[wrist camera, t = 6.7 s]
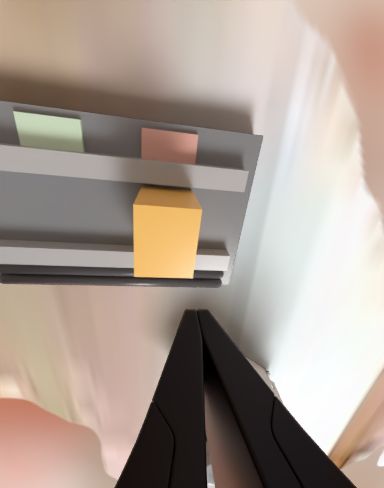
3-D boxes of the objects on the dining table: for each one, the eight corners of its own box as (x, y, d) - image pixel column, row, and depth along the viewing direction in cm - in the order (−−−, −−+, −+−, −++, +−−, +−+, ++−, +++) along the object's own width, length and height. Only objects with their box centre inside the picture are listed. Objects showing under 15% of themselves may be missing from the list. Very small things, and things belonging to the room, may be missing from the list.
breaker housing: (7, 267, 21) (-18, 288, 18) (-49, 95, 15) (-101, 86, 12) (224, 273, 24) (232, 292, 21) (253, 135, 18) (270, 135, 15)
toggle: (141, 243, 19) (134, 276, 14) (141, 186, 16) (133, 204, 12) (186, 245, 19) (192, 278, 15) (192, 190, 17) (202, 209, 13)
